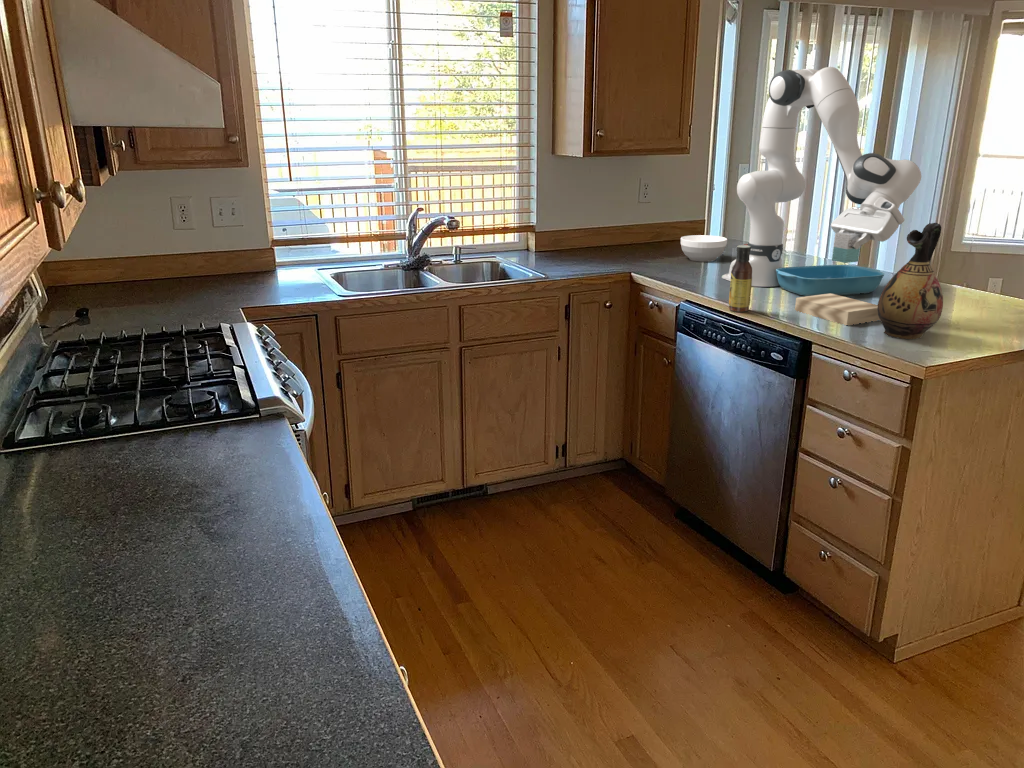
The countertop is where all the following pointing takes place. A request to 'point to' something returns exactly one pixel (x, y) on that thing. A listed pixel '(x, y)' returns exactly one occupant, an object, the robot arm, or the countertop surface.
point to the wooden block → (837, 309)
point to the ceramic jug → (913, 290)
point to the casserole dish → (829, 279)
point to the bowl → (703, 247)
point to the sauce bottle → (741, 281)
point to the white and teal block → (845, 247)
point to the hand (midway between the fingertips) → (845, 246)
